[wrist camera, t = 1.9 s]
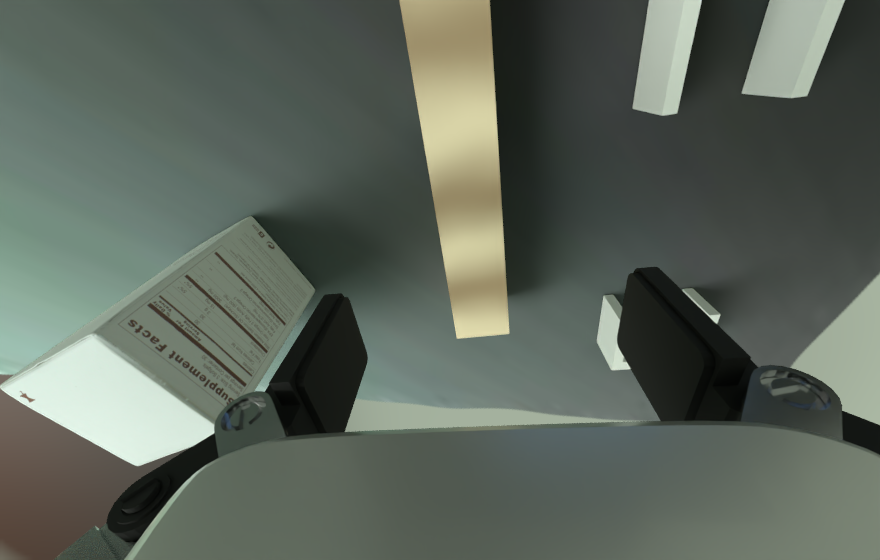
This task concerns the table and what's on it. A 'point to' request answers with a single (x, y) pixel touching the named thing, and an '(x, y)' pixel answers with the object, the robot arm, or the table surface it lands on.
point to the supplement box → (172, 348)
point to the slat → (462, 153)
